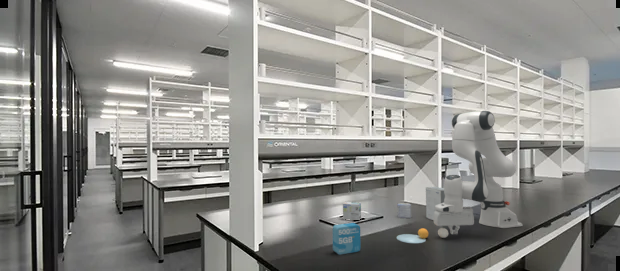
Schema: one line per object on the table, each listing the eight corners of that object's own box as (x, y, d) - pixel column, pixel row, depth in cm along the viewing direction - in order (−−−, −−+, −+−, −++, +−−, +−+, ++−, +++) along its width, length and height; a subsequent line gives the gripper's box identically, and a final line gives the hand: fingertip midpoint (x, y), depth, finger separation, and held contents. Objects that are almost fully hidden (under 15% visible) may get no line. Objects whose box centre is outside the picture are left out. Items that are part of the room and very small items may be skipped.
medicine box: (409, 216, 201) (409, 203, 201) (411, 218, 197) (411, 204, 197) (397, 216, 202) (397, 203, 202) (398, 218, 198) (398, 204, 198)
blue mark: (418, 234, 163) (418, 233, 163) (430, 242, 149) (430, 242, 149) (392, 235, 162) (392, 234, 162) (402, 243, 148) (402, 243, 148)
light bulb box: (361, 219, 196) (361, 202, 196) (359, 221, 189) (359, 204, 190) (345, 217, 199) (344, 201, 199) (342, 220, 193) (342, 203, 193)
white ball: (435, 227, 159) (437, 237, 159) (440, 230, 154) (442, 240, 154) (443, 225, 159) (446, 234, 159) (449, 228, 154) (451, 237, 154)
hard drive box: (452, 223, 184) (451, 189, 185) (441, 224, 182) (440, 190, 183) (436, 216, 199) (435, 186, 200) (425, 217, 198) (425, 186, 198)
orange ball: (422, 225, 159) (414, 230, 158) (426, 227, 154) (418, 233, 153) (427, 233, 159) (419, 238, 158) (432, 235, 154) (424, 241, 153)
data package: (337, 255, 134) (336, 227, 134) (332, 251, 138) (332, 225, 138) (360, 251, 138) (360, 224, 139) (355, 248, 143) (355, 222, 143)
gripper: (469, 205, 162) (469, 231, 161) (431, 206, 160) (432, 232, 160) (476, 207, 155) (477, 235, 155) (437, 208, 154) (438, 236, 153)
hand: (454, 233), depth 157 cm, fingers closed
